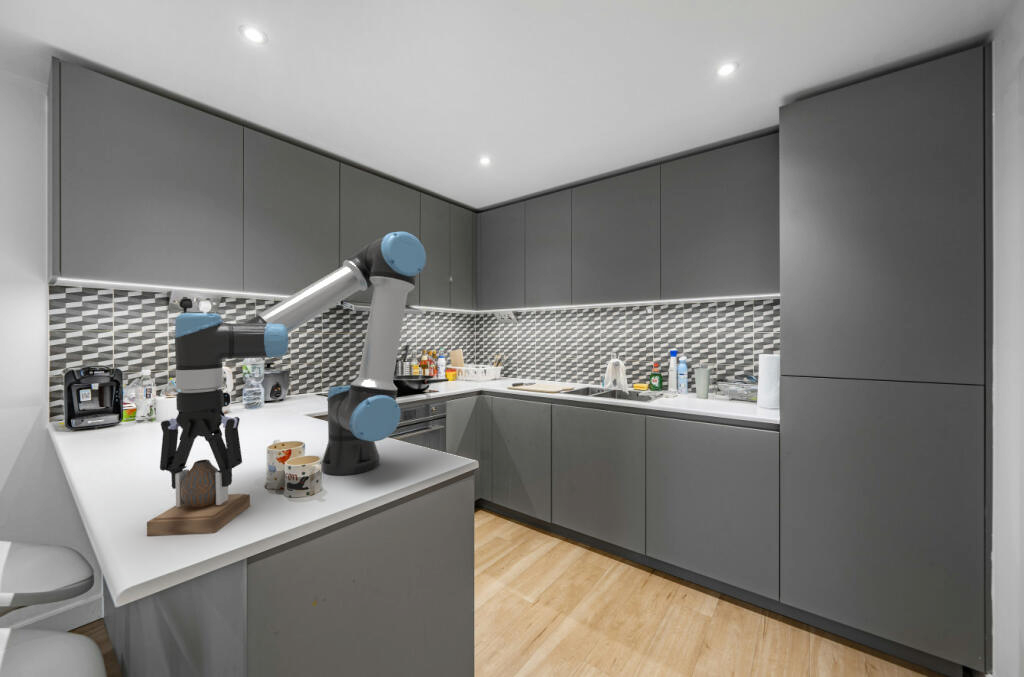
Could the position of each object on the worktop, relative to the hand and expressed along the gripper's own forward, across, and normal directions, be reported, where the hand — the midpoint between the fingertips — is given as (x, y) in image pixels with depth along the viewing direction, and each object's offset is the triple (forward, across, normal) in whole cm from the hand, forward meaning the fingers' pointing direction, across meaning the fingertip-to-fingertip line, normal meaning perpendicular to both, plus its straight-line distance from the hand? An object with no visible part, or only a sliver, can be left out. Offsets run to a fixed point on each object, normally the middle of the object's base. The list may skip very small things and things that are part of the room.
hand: (202, 502), depth 83 cm
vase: (+1, 0, 0) cm, 1 cm away
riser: (+3, 0, 0) cm, 3 cm away
